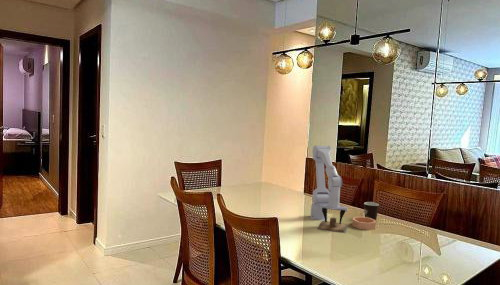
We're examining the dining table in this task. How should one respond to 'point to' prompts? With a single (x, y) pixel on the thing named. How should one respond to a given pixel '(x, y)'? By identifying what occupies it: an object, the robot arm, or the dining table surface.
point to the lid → (332, 225)
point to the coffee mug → (371, 210)
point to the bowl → (364, 223)
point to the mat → (334, 231)
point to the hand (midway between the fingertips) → (333, 222)
